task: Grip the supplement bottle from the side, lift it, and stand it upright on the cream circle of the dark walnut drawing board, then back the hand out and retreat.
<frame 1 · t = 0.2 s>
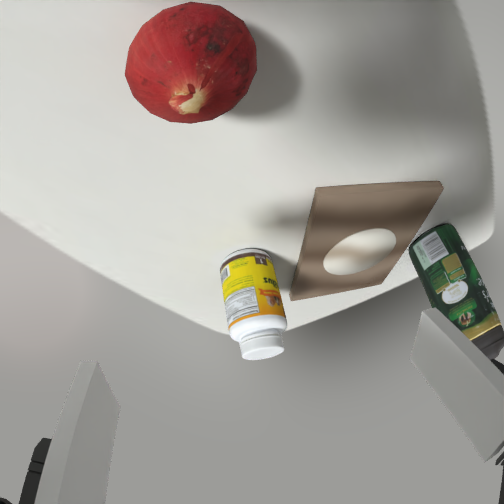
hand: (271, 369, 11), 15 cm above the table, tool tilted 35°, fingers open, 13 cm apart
supplement bottle: (245, 259, 33), on the table
drawing board: (357, 245, 34), on the table
coffee jar: (432, 240, 38), on the table
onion: (190, 39, 14), on the table
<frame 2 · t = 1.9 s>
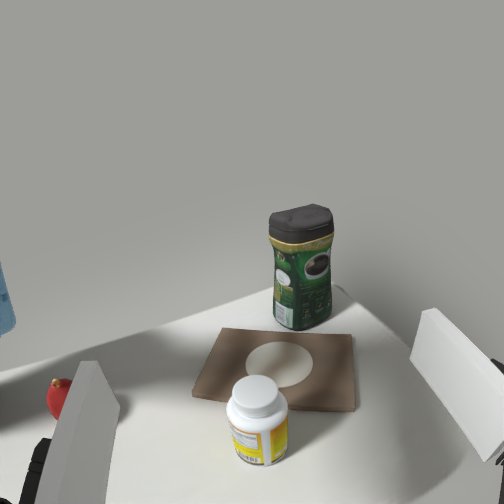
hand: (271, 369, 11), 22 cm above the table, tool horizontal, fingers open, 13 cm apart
supplement bottle: (261, 448, 29), on the table
drawing board: (279, 368, 40), on the table
coffee jar: (301, 316, 51), on the table
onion: (81, 421, 31), on the table
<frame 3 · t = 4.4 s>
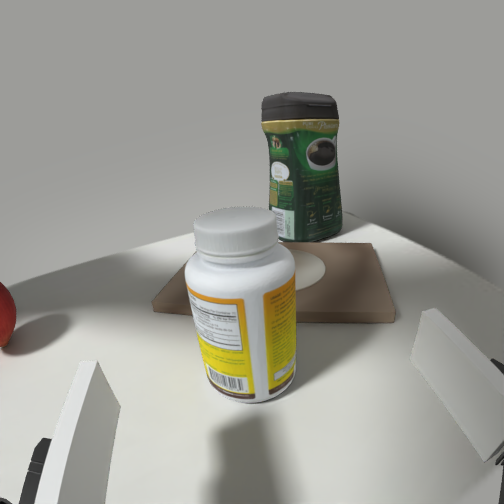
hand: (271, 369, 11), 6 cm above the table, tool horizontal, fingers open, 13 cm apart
supplement bottle: (251, 376, 19), on the table
drawing board: (278, 278, 30), on the table
coffee jar: (305, 234, 42), on the table
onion: (5, 346, 21), on the table
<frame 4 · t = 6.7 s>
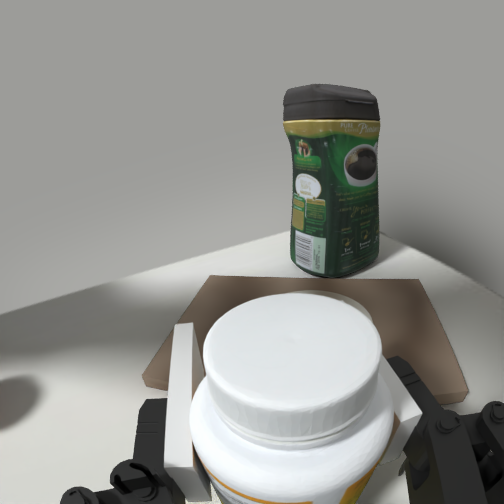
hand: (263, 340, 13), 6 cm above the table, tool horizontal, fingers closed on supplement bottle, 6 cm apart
supplement bottle: (288, 502, 11), on the table, touching gripper
drawing board: (310, 334, 22), on the table
coffee jar: (334, 262, 33), on the table
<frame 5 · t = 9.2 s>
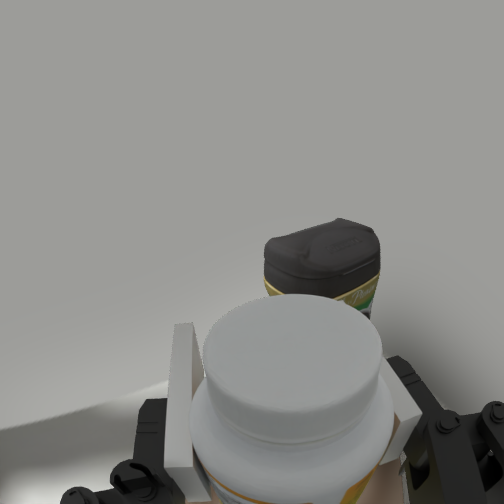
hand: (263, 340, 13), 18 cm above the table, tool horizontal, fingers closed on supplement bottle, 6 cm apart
supplement bottle: (288, 503, 10), point 12 cm above the table, touching gripper
drawing board: (283, 497, 19), on the table
coffee jar: (316, 393, 31), on the table
when the fingers open (8 cm above the table, at t = 11.7 s): supplement bottle drops 1 cm, resting on drawing board.
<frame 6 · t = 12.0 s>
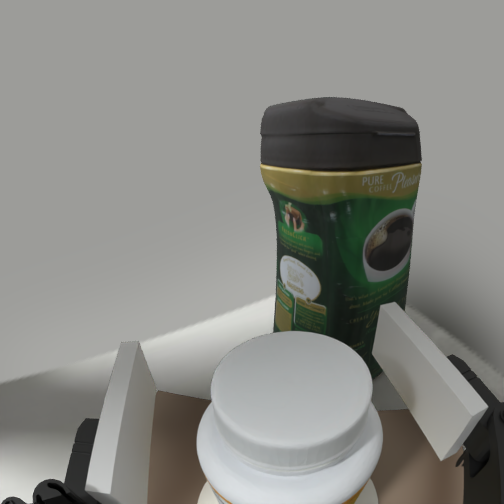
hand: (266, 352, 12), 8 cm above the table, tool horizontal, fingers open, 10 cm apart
coffee jar: (334, 361, 23), on the table
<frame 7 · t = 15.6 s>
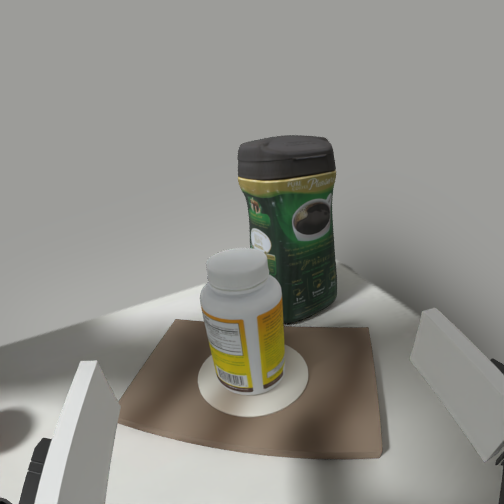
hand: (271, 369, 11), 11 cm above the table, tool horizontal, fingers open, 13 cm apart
supplement bottle: (251, 375, 24), point 1 cm above the table, touching drawing board
drawing board: (253, 383, 24), on the table
coffee jar: (293, 304, 36), on the table
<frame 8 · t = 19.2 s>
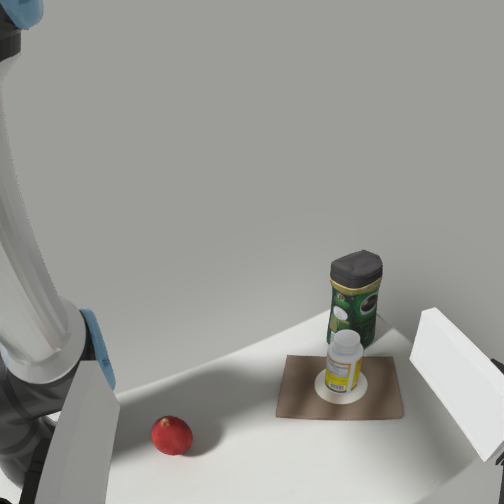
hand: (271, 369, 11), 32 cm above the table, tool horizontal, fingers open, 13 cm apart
supplement bottle: (340, 384, 47), point 1 cm above the table, touching drawing board
drawing board: (340, 388, 47), on the table
coffee jar: (349, 341, 58), on the table
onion: (178, 449, 38), on the table
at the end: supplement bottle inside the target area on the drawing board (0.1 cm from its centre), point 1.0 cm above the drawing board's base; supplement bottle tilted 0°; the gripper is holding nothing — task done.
